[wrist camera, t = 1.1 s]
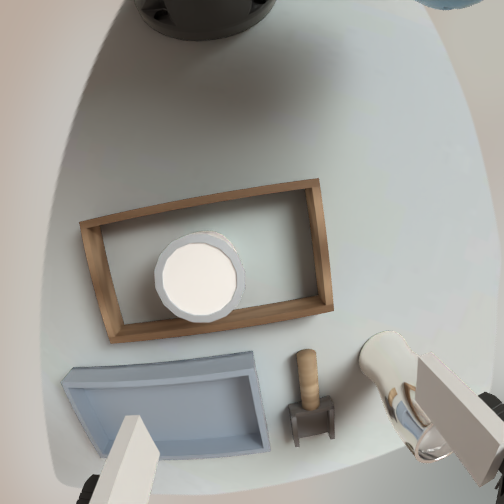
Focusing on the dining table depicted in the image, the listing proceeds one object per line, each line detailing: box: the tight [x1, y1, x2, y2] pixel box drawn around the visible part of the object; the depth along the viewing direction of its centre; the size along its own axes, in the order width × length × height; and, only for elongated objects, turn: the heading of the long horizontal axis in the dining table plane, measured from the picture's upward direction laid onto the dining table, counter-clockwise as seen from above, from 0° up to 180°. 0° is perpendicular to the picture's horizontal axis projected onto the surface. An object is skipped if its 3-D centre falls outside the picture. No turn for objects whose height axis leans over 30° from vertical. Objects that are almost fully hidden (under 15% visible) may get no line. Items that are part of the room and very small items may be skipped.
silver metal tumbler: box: [359, 331, 453, 463], centre depth 26 cm, size 7×7×15 cm
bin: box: [61, 351, 271, 460], centre depth 31 cm, size 12×21×4 cm, turn 99°
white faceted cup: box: [154, 231, 245, 322], centre depth 27 cm, size 7×7×7 cm
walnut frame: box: [79, 178, 334, 344], centre depth 28 cm, size 12×21×3 cm, turn 99°
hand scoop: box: [289, 349, 335, 447], centre depth 32 cm, size 13×5×2 cm, turn 9°
